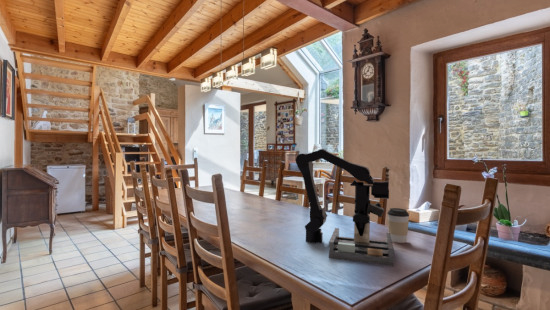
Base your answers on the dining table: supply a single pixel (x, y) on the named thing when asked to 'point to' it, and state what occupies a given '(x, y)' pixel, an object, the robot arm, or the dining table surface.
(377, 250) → the offcut
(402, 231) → the coffee cup
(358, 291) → the dining table surface
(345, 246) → the offcut
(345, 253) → the rack
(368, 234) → the birch panel
